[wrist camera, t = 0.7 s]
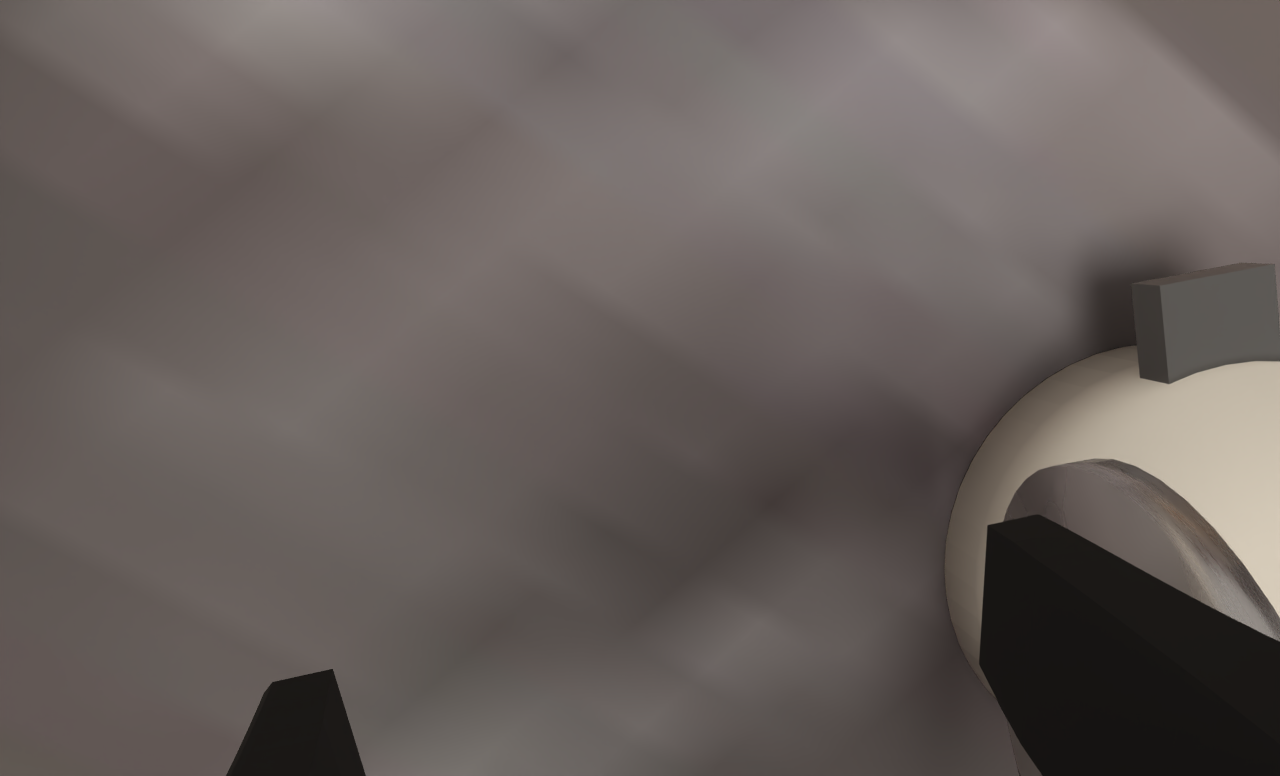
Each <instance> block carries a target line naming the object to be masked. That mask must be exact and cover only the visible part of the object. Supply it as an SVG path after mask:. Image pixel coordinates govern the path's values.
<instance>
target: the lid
mask: <svg viewBox="0 0 1280 776" xmlns="http://www.w3.org/2000/svg"><path fill="white" fill-rule="evenodd" d="M1036 514H1039V515H1041V516H1043V517H1045V518H1047V519H1049V520H1051V521H1053V522H1055V523H1057V524H1059V525H1061V526H1063V527H1065V528H1067V529H1069V530H1071V531H1072V532H1074V533H1076V534H1078V535H1080V536H1082V537H1083V538H1085V539H1087V540H1089V541H1091V542H1093V543H1094V544H1096V545H1098V546H1100V547H1102V548H1103V549H1105V550H1107V551H1109V552H1111V553H1112V554H1114V555H1116V556H1118V557H1120V558H1121V559H1123V560H1125V561H1127V562H1129V563H1130V564H1132V565H1134V566H1136V567H1138V568H1139V569H1141V570H1143V571H1145V572H1147V573H1149V574H1150V575H1152V576H1154V577H1156V578H1158V579H1159V580H1161V581H1163V582H1165V583H1167V584H1169V585H1170V586H1172V587H1174V588H1176V589H1178V590H1180V591H1182V592H1183V593H1185V594H1187V595H1189V596H1191V597H1193V598H1195V599H1197V600H1198V601H1200V602H1202V603H1204V604H1206V605H1208V606H1210V607H1212V608H1214V609H1216V610H1218V611H1219V612H1221V613H1223V614H1225V615H1227V616H1229V617H1231V618H1233V619H1235V620H1237V621H1239V622H1241V623H1243V624H1245V625H1247V626H1249V627H1251V628H1253V629H1255V630H1257V631H1259V632H1261V633H1263V634H1265V635H1267V636H1269V637H1271V638H1273V639H1276V640H1278V641H1280V617H1279V616H1278V614H1277V612H1276V611H1275V609H1274V607H1273V606H1272V604H1271V603H1270V602H1269V600H1268V599H1267V597H1266V596H1265V594H1264V593H1263V591H1262V590H1261V588H1260V587H1259V586H1258V584H1257V583H1256V581H1255V580H1254V578H1253V577H1252V575H1251V574H1250V573H1249V571H1248V570H1247V568H1246V567H1245V565H1244V564H1243V563H1242V561H1241V560H1240V559H1239V558H1238V557H1237V555H1236V554H1235V553H1234V552H1233V550H1232V549H1231V548H1230V547H1229V546H1228V544H1227V543H1226V542H1225V541H1224V539H1223V538H1222V537H1221V536H1220V535H1219V533H1218V532H1217V531H1216V530H1215V528H1214V527H1213V526H1212V525H1211V524H1210V523H1209V522H1208V521H1207V520H1206V519H1205V518H1204V517H1203V516H1202V515H1201V514H1200V513H1199V512H1198V511H1197V510H1196V509H1195V508H1194V507H1193V506H1192V505H1191V504H1190V503H1189V502H1188V501H1187V500H1185V499H1184V498H1183V497H1182V496H1180V495H1179V494H1178V493H1176V492H1175V491H1174V490H1173V489H1171V488H1170V487H1169V486H1168V485H1166V484H1165V483H1164V482H1162V481H1161V480H1160V479H1158V478H1156V477H1154V476H1153V475H1151V474H1149V473H1147V472H1146V471H1144V470H1142V469H1140V468H1138V467H1137V466H1134V465H1131V464H1128V463H1124V462H1121V461H1118V460H1115V459H1098V458H1094V459H1088V460H1083V461H1077V462H1072V463H1066V464H1061V465H1055V466H1051V467H1048V468H1044V469H1040V470H1038V471H1036V472H1035V473H1034V474H1032V475H1031V476H1029V477H1028V478H1027V479H1025V481H1024V482H1023V483H1022V484H1021V486H1020V487H1019V488H1018V489H1017V491H1016V492H1015V494H1014V496H1013V498H1012V500H1011V502H1010V504H1009V506H1008V508H1007V511H1006V514H1005V517H1004V520H1003V522H1004V521H1009V520H1013V519H1018V518H1022V517H1027V516H1031V515H1036ZM1007 722H1008V720H1007ZM1008 728H1009V733H1010V737H1011V742H1012V746H1013V751H1014V755H1015V760H1016V764H1017V768H1018V772H1019V776H1042V774H1041V773H1040V772H1039V770H1038V769H1037V767H1036V766H1035V764H1034V763H1033V761H1032V760H1031V758H1030V757H1029V756H1028V754H1027V753H1026V751H1025V750H1024V748H1023V747H1022V745H1021V744H1020V742H1019V740H1018V738H1017V736H1016V735H1015V733H1014V731H1013V729H1012V727H1011V725H1010V723H1009V722H1008Z"/></svg>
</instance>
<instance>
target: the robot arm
mask: <svg viewBox="0 0 1280 776" xmlns="http://www.w3.org/2000/svg"><path fill="white" fill-rule="evenodd" d="M979 665H980V667H981V669H982V671H983V673H984V675H985V677H986V679H987V681H988V683H989V685H990V687H991V689H992V691H993V693H994V695H995V697H996V699H997V701H998V703H999V705H1000V707H1001V709H1002V711H1003V712H1004V714H1005V716H1006V718H1007V720H1008V722H1009V723H1010V725H1011V727H1012V729H1013V731H1014V733H1015V735H1016V736H1017V738H1018V740H1019V742H1020V744H1021V745H1022V747H1023V748H1024V750H1025V751H1026V753H1027V754H1028V756H1029V757H1030V758H1031V760H1032V761H1033V763H1034V764H1035V766H1036V767H1037V769H1038V770H1039V772H1040V773H1041V774H1042V776H1280V641H1278V640H1276V639H1273V638H1271V637H1269V636H1267V635H1265V634H1263V633H1261V632H1259V631H1257V630H1255V629H1253V628H1251V627H1249V626H1247V625H1245V624H1243V623H1241V622H1239V621H1237V620H1235V619H1233V618H1231V617H1229V616H1227V615H1225V614H1223V613H1221V612H1219V611H1218V610H1216V609H1214V608H1212V607H1210V606H1208V605H1206V604H1204V603H1202V602H1200V601H1198V600H1197V599H1195V598H1193V597H1191V596H1189V595H1187V594H1185V593H1183V592H1182V591H1180V590H1178V589H1176V588H1174V587H1172V586H1170V585H1169V584H1167V583H1165V582H1163V581H1161V580H1159V579H1158V578H1156V577H1154V576H1152V575H1150V574H1149V573H1147V572H1145V571H1143V570H1141V569H1139V568H1138V567H1136V566H1134V565H1132V564H1130V563H1129V562H1127V561H1125V560H1123V559H1121V558H1120V557H1118V556H1116V555H1114V554H1112V553H1111V552H1109V551H1107V550H1105V549H1103V548H1102V547H1100V546H1098V545H1096V544H1094V543H1093V542H1091V541H1089V540H1087V539H1085V538H1083V537H1082V536H1080V535H1078V534H1076V533H1074V532H1072V531H1071V530H1069V529H1067V528H1065V527H1063V526H1061V525H1059V524H1057V523H1055V522H1053V521H1051V520H1049V519H1047V518H1045V517H1043V516H1041V515H1039V514H1036V515H1031V516H1027V517H1022V518H1018V519H1013V520H1009V521H1004V522H1000V523H995V524H991V525H987V540H986V556H985V573H984V589H983V605H982V621H981V638H980V654H979ZM226 776H366V775H365V772H364V769H363V765H362V762H361V759H360V756H359V752H358V749H357V746H356V743H355V740H354V736H353V733H352V730H351V727H350V723H349V720H348V717H347V714H346V710H345V707H344V704H343V701H342V698H341V694H340V691H339V688H338V685H337V681H336V678H335V675H334V672H333V669H330V670H326V671H321V672H317V673H312V674H308V675H303V676H299V677H294V678H289V679H285V680H280V681H276V682H272V684H271V685H270V686H269V687H268V689H267V690H266V691H265V693H264V694H263V697H262V699H261V701H260V704H259V706H258V708H257V710H256V713H255V715H254V717H253V719H252V722H251V724H250V726H249V728H248V731H247V733H246V735H245V737H244V739H243V742H242V744H241V746H240V748H239V750H238V752H237V754H236V756H235V759H234V761H233V763H232V765H231V767H230V769H229V771H228V773H227V775H226Z"/></svg>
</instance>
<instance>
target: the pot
mask: <svg viewBox="0 0 1280 776" xmlns="http://www.w3.org/2000/svg"><path fill="white" fill-rule="evenodd" d="M1131 291H1132V302H1133V312H1134V322H1135V333H1136V343H1137V345H1136V346H1128V347H1121V348H1117V349H1113V350H1110V351H1106V352H1102V353H1098V354H1095V355H1093V356H1090V357H1088V358H1086V359H1083V360H1081V361H1078V362H1076V363H1074V364H1071V365H1069V366H1068V367H1066V368H1064V369H1062V370H1061V371H1059V372H1057V373H1055V374H1054V375H1052V376H1050V377H1049V378H1047V379H1046V380H1044V381H1043V382H1042V383H1040V384H1039V385H1038V386H1036V387H1035V388H1034V389H1032V390H1031V391H1030V392H1028V393H1027V394H1026V395H1025V396H1024V397H1023V398H1022V399H1020V400H1019V401H1018V402H1017V403H1016V404H1015V405H1014V406H1013V407H1012V408H1011V409H1010V410H1009V411H1008V412H1007V413H1006V414H1005V415H1004V416H1003V418H1002V419H1001V420H1000V421H999V423H998V424H997V425H996V426H995V428H994V429H993V430H992V431H991V433H990V434H989V435H988V436H987V438H986V439H985V441H984V443H983V444H982V446H981V447H980V449H979V451H978V452H977V454H976V455H975V457H974V459H973V460H972V462H971V464H970V466H969V469H968V471H967V473H966V475H965V477H964V479H963V481H962V484H961V486H960V488H959V491H958V495H957V498H956V501H955V504H954V507H953V510H952V513H951V518H950V523H949V528H948V533H947V539H946V550H945V565H944V570H945V586H946V597H947V602H948V607H949V612H950V617H951V621H952V624H953V627H954V630H955V633H956V636H957V639H958V642H959V645H960V647H961V649H962V651H963V653H964V655H965V657H966V659H967V661H968V663H969V664H970V666H971V668H972V670H973V671H974V672H975V674H976V675H977V677H978V678H979V680H980V681H981V682H982V684H983V685H984V687H985V688H986V689H987V690H988V691H989V692H990V693H991V694H992V695H993V696H994V698H995V699H996V697H995V695H994V693H993V691H992V689H991V687H990V685H989V683H988V681H987V679H986V677H985V675H984V673H983V671H982V669H981V667H980V665H979V654H980V638H981V621H982V605H983V589H984V573H985V556H986V540H987V525H991V524H995V523H1000V522H1003V520H1004V517H1005V514H1006V511H1007V508H1008V506H1009V504H1010V502H1011V500H1012V498H1013V496H1014V494H1015V492H1016V491H1017V489H1018V488H1019V487H1020V486H1021V484H1022V483H1023V482H1024V481H1025V479H1027V478H1028V477H1029V476H1031V475H1032V474H1034V473H1035V472H1036V471H1038V470H1040V469H1044V468H1048V467H1051V466H1055V465H1061V464H1066V463H1072V462H1077V461H1083V460H1088V459H1094V458H1098V459H1115V460H1118V461H1121V462H1124V463H1128V464H1131V465H1134V466H1137V467H1138V468H1140V469H1142V470H1144V471H1146V472H1147V473H1149V474H1151V475H1153V476H1154V477H1156V478H1158V479H1160V480H1161V481H1162V482H1164V483H1165V484H1166V485H1168V486H1169V487H1170V488H1171V489H1173V490H1174V491H1175V492H1176V493H1178V494H1179V495H1180V496H1182V497H1183V498H1184V499H1185V500H1187V501H1188V502H1189V503H1190V504H1191V505H1192V506H1193V507H1194V508H1195V509H1196V510H1197V511H1198V512H1199V513H1200V514H1201V515H1202V516H1203V517H1204V518H1205V519H1206V520H1207V521H1208V522H1209V523H1210V524H1211V525H1212V526H1213V527H1214V528H1215V530H1216V531H1217V532H1218V533H1219V535H1220V536H1221V537H1222V538H1223V539H1224V541H1225V542H1226V543H1227V544H1228V546H1229V547H1230V548H1231V549H1232V550H1233V552H1234V553H1235V554H1236V555H1237V557H1238V558H1239V559H1240V560H1241V561H1242V563H1243V564H1244V565H1245V567H1246V568H1247V570H1248V571H1249V573H1250V574H1251V575H1252V577H1253V578H1254V580H1255V581H1256V583H1257V584H1258V586H1259V587H1260V588H1261V590H1262V591H1263V593H1264V594H1265V596H1266V597H1267V599H1268V600H1269V602H1270V603H1271V604H1272V606H1273V607H1274V609H1275V611H1276V612H1277V614H1278V616H1279V617H1280V327H1279V314H1278V301H1277V288H1276V275H1275V264H1259V263H1238V264H1232V265H1227V266H1222V267H1216V268H1211V269H1206V270H1200V271H1195V272H1190V273H1184V274H1179V275H1174V276H1168V277H1163V278H1158V279H1152V280H1147V281H1142V282H1137V283H1131ZM996 700H997V699H996Z"/></svg>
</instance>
